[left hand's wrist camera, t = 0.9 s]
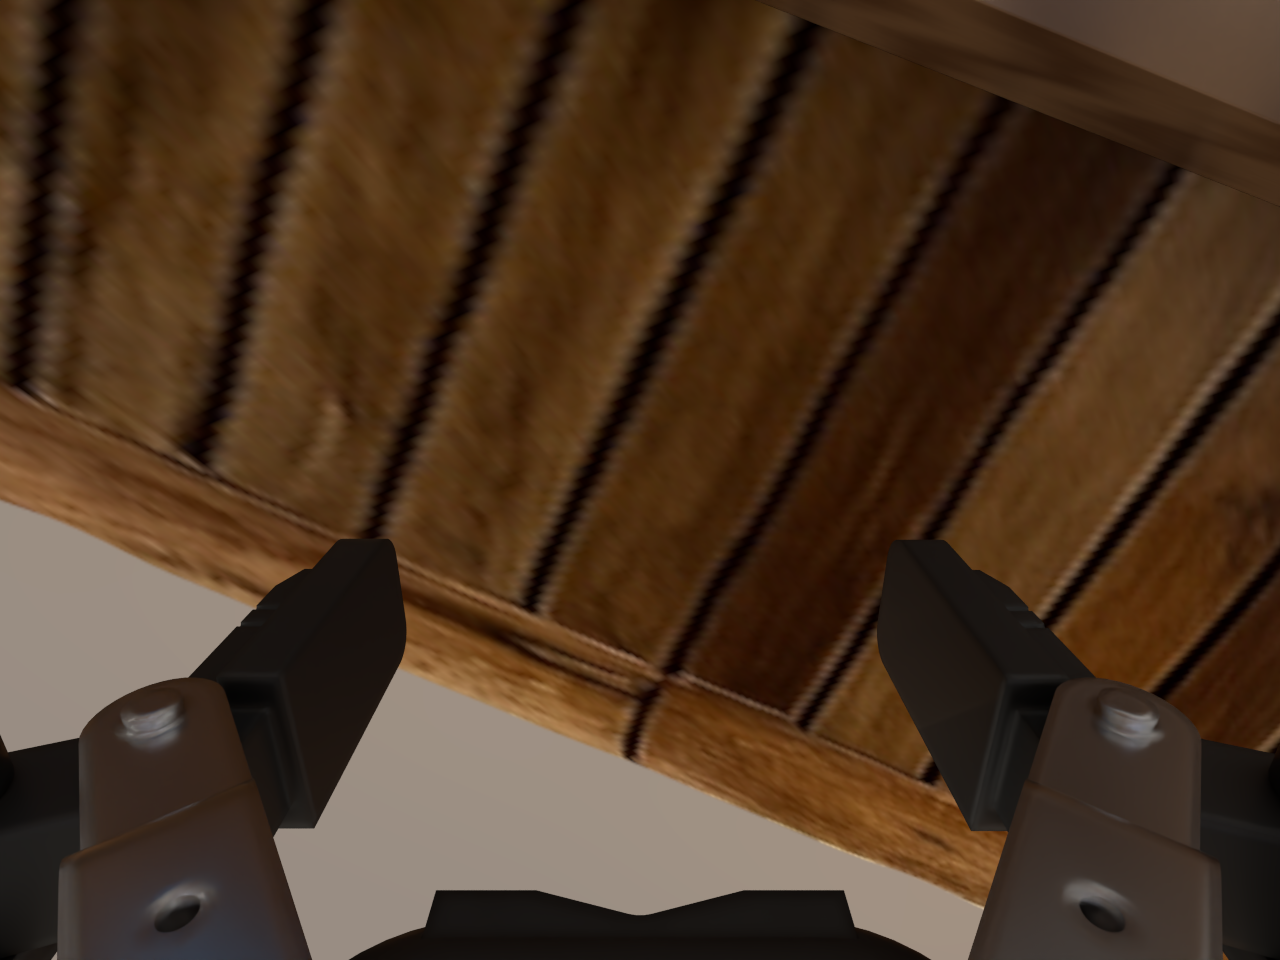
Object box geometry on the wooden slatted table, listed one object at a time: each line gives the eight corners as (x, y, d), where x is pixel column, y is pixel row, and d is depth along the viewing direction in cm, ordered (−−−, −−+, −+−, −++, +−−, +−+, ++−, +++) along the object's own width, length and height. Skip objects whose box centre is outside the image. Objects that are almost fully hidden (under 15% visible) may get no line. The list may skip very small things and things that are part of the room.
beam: (464, -114, 25) (392, -238, 18) (494, -276, 24) (429, -482, 17) (1705, 374, 31) (2013, 424, 24) (1798, 273, 30) (2158, 295, 23)
